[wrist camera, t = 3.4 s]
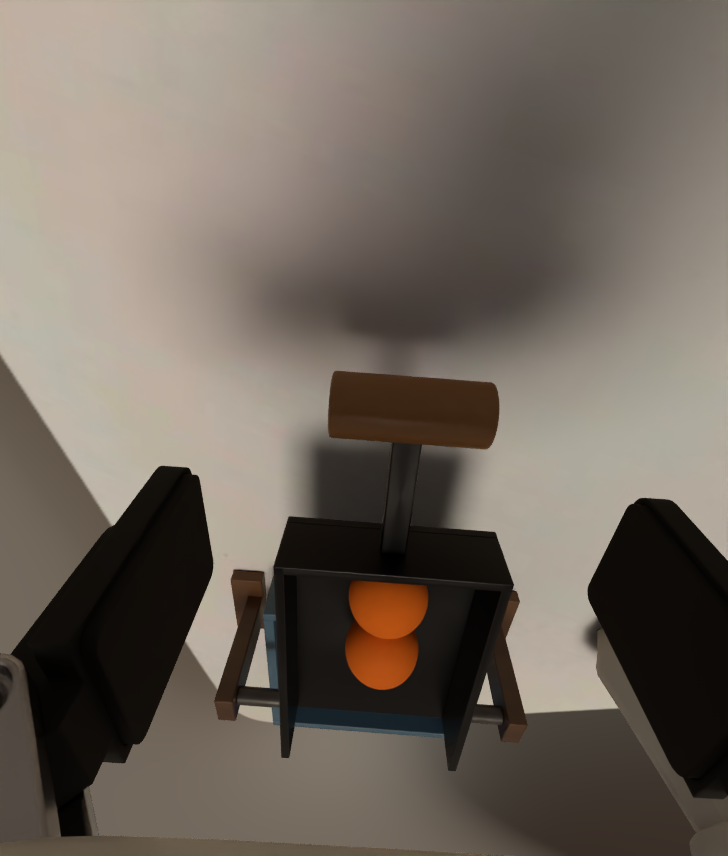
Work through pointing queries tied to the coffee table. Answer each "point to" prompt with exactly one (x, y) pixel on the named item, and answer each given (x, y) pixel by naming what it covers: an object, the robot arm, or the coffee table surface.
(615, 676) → the salt shaker
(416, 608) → the ball
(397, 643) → the ball
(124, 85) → the coffee table surface
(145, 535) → the robot arm
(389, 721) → the tray
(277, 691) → the stand
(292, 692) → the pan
